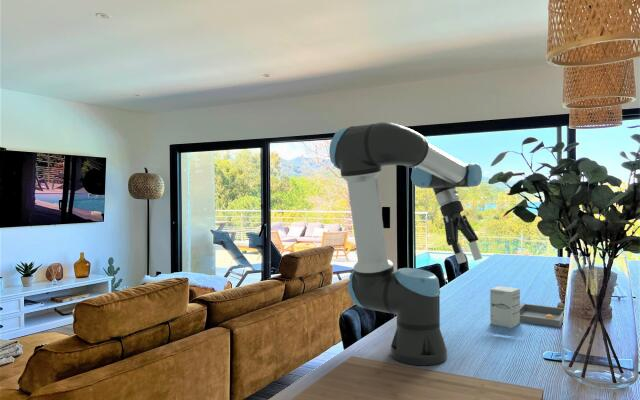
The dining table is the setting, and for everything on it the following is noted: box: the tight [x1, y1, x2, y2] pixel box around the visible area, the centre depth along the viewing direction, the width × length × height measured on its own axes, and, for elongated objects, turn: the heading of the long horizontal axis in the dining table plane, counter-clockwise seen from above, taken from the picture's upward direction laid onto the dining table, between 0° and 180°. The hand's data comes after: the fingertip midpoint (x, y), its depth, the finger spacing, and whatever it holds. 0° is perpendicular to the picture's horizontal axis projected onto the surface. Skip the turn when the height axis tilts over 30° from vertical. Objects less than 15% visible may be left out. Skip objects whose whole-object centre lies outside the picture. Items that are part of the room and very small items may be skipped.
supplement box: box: [489, 285, 521, 329], centre depth 151 cm, size 7×7×13 cm
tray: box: [520, 303, 564, 328], centre depth 158 cm, size 18×15×3 cm
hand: (470, 261), depth 155 cm, fingers open, 13 cm apart
